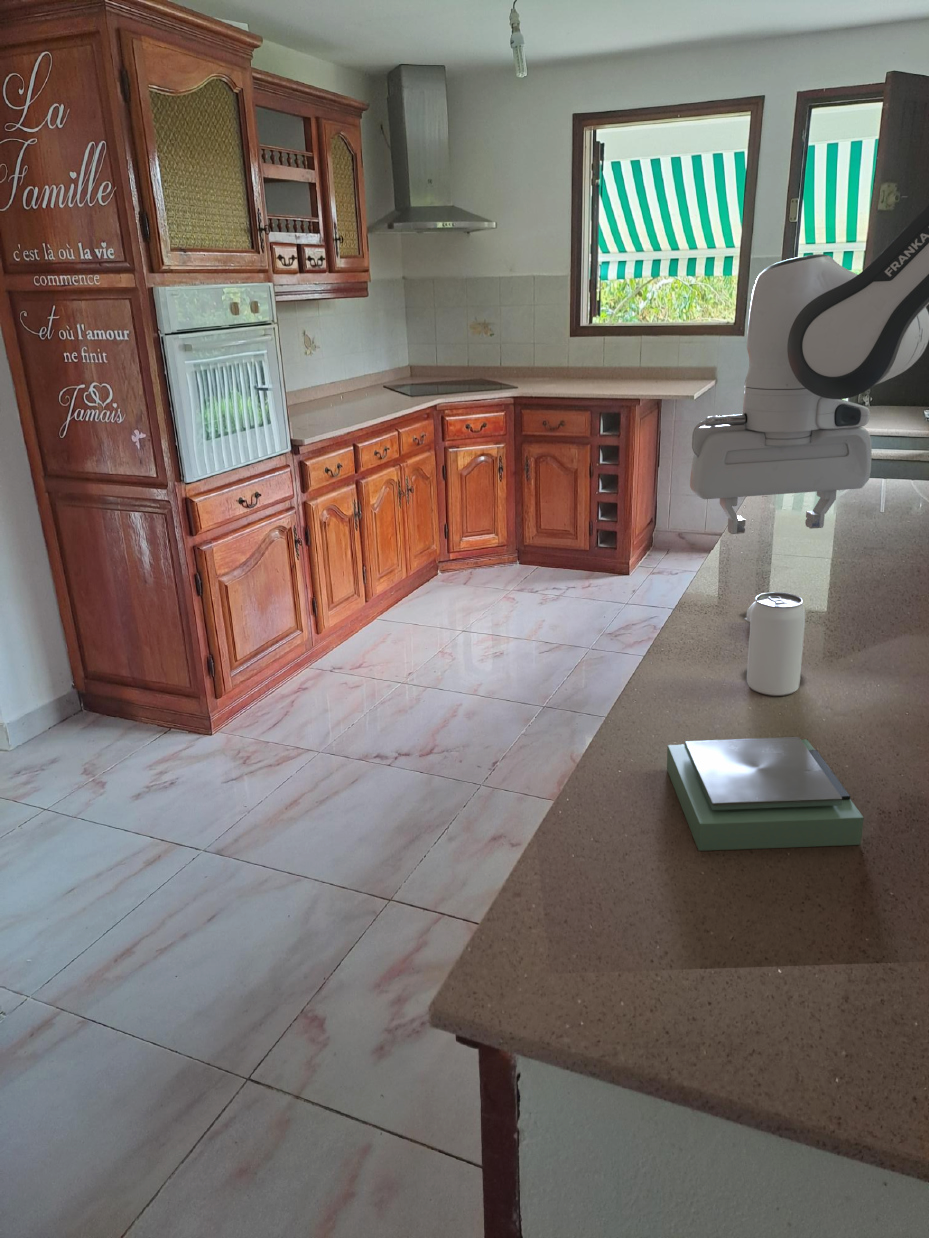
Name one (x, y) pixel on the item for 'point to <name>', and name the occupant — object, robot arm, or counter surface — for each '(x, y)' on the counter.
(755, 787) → the scale pan
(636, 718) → the counter surface
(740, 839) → the scale
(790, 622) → the can
